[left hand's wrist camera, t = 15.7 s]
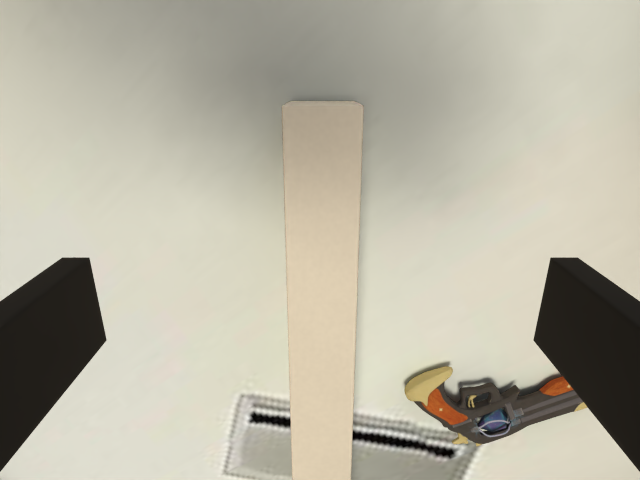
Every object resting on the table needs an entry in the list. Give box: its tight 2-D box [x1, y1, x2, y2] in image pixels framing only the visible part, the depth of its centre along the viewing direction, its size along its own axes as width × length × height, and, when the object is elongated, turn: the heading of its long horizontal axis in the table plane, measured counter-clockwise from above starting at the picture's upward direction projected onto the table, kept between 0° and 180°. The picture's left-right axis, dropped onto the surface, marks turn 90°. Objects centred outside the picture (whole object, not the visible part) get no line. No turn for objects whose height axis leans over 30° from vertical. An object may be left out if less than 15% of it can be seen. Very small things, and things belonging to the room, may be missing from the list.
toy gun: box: [405, 366, 587, 446], centre depth 44 cm, size 3×19×10 cm
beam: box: [282, 101, 364, 480], centre depth 42 cm, size 55×6×7 cm, turn 0°
